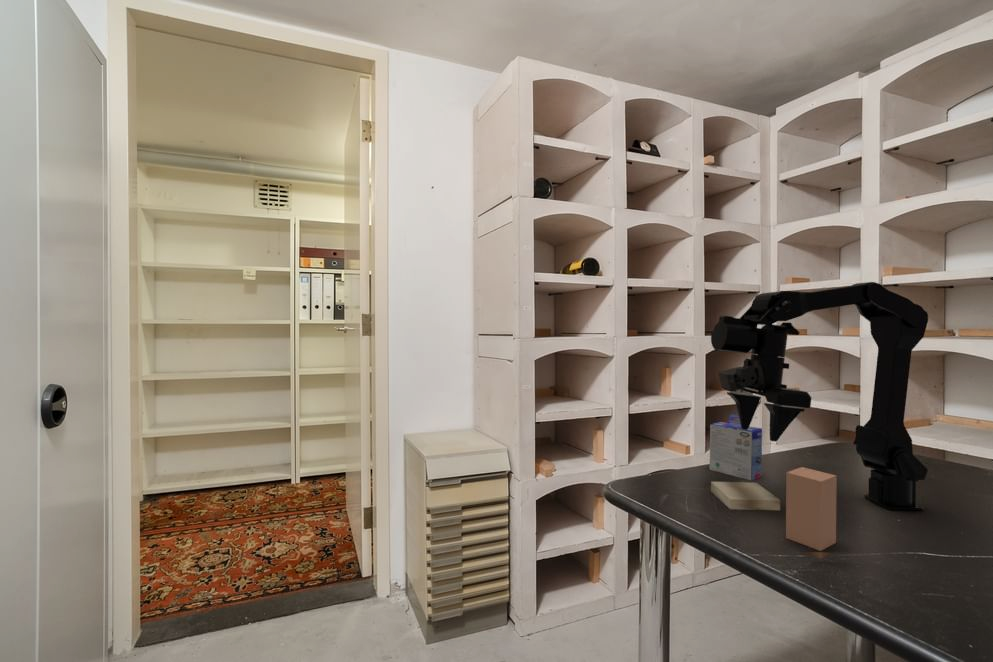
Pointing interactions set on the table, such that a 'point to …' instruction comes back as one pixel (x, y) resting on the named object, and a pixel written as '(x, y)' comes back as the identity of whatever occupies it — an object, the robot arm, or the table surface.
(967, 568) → the table surface
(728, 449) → the ink cartridge box
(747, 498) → the top slab
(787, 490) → the column
